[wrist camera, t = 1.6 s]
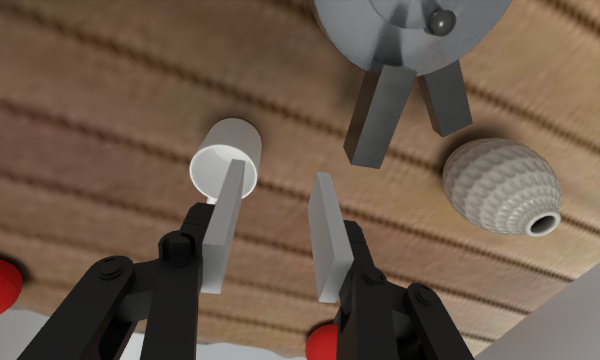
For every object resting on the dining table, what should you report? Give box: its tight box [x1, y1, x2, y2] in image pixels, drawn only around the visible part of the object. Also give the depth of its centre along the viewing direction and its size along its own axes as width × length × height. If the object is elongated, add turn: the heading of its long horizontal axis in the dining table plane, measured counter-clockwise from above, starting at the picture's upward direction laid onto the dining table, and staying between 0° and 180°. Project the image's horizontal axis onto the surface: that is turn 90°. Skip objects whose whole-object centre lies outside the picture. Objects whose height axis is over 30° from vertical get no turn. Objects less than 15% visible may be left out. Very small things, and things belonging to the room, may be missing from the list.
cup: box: [190, 118, 262, 204], centre depth 40 cm, size 8×12×10 cm
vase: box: [442, 138, 561, 237], centre depth 40 cm, size 13×13×17 cm
